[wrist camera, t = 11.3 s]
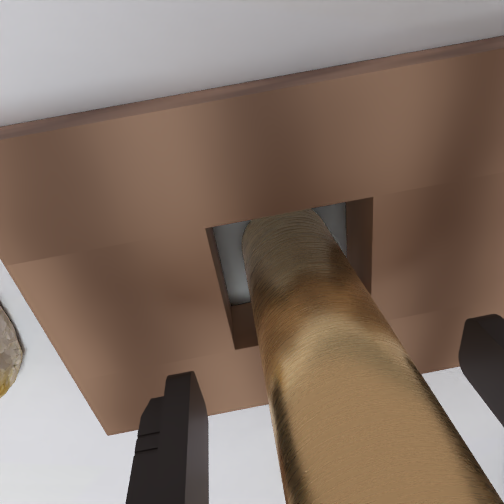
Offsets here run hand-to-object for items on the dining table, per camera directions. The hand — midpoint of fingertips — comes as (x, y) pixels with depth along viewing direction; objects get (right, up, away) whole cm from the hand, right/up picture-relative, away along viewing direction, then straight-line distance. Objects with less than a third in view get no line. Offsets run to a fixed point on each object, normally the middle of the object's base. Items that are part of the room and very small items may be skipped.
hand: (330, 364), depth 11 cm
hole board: (-1, +4, +6) cm, 7 cm away
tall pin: (-1, +4, +6) cm, 7 cm away
